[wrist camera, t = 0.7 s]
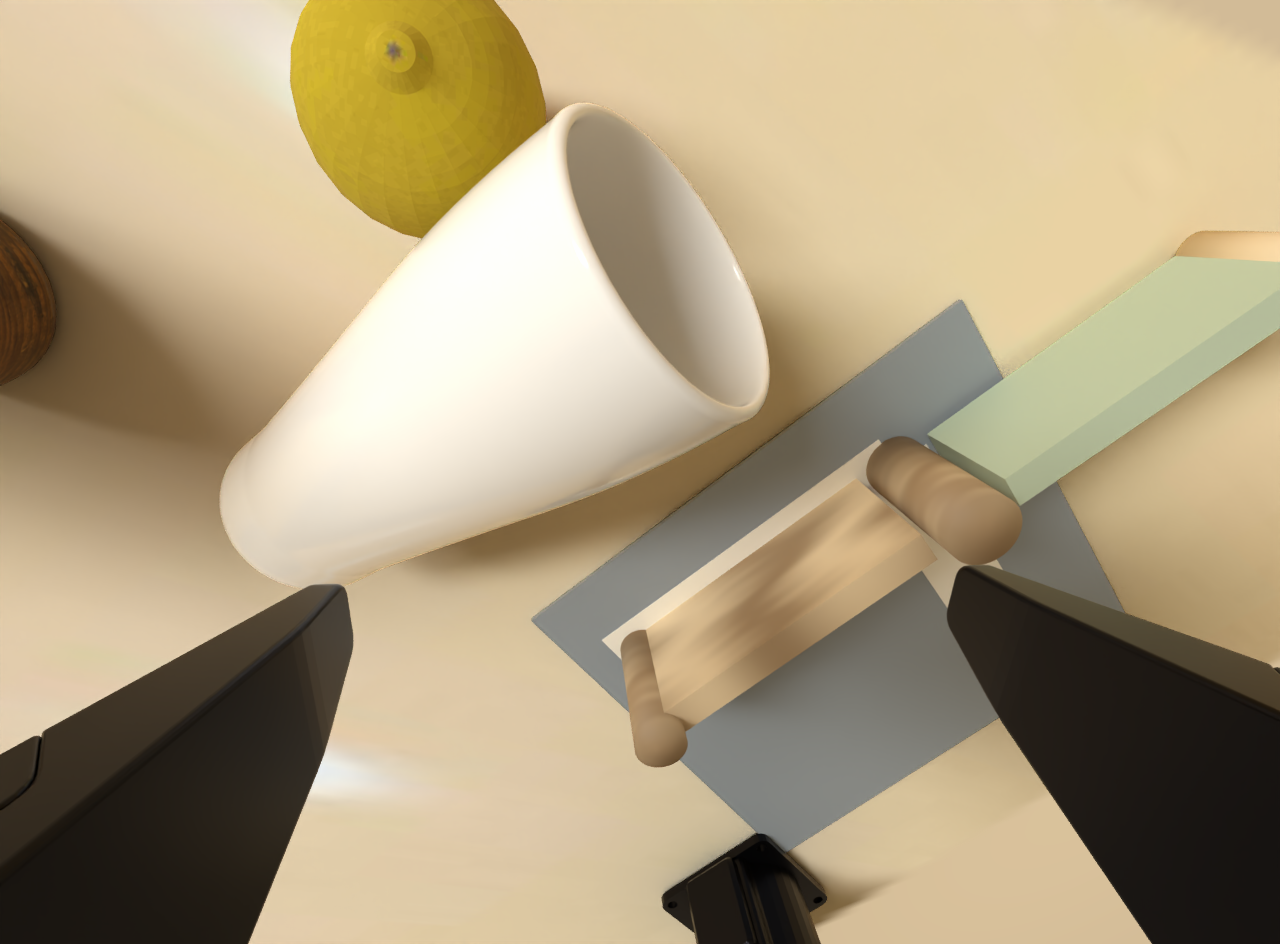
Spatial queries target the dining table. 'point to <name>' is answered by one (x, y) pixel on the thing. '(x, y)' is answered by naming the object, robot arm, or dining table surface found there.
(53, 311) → the utensil holder
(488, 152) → the lemon
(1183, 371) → the fence panel
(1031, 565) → the card
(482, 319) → the white tumbler
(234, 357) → the dining table surface
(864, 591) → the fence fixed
